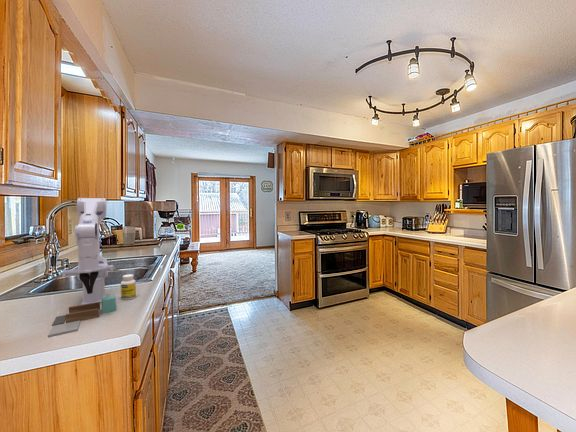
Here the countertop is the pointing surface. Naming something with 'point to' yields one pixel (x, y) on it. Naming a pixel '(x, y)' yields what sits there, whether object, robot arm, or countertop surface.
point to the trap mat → (59, 320)
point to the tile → (64, 328)
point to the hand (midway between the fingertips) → (90, 292)
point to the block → (108, 304)
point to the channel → (83, 312)
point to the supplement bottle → (128, 287)
